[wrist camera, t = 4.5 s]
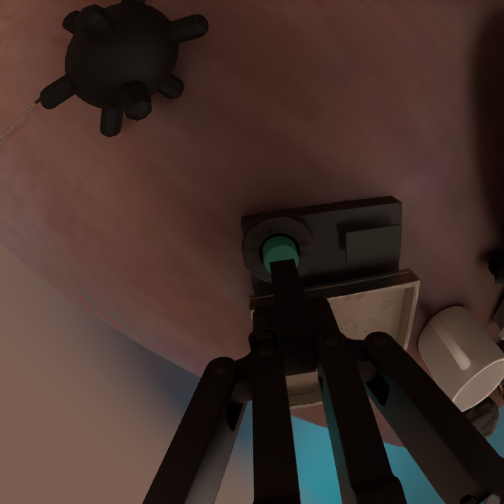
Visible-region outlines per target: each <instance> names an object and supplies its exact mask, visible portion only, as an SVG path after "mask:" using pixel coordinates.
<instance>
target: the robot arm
mask: <svg viewBox="0 0 504 504" xmlns="http://www.w3.org/2000/svg"><path fill="white" fill-rule="evenodd" d="M269 264H270V271H271V278H272V286H273V293H274V301H275V304H273V305H266V306H259V307H256V308H255V310H254V312H253V331H252V332H251V334H250V335H249V338H248V340H249V344H250V349H251V352H250V353H249V354H248V355H247V356H245V357H243V358H241V359H239V360H236V361H234V360H233V359H231V358H228V357H219V358H216V359H213V360H212V361H211V362H209V364H208V365H207V367H206V369H205V371H204V373H203V375H202V377H201V379H200V382H199V384H198V386H197V388H196V390H195V392H194V395H193V397H192V399H191V401H190V403H189V406H188V408H187V410H186V412H185V414H184V416H183V418H182V421H181V423H180V425H179V427H178V429H177V431H176V433H175V435H174V438H173V440H172V442H171V444H170V446H169V448H168V450H167V453H166V455H165V457H164V459H163V461H162V463H161V465H160V467H159V470H158V472H157V474H156V476H155V478H154V480H153V482H152V484H151V487H150V489H149V491H148V493H147V495H146V497H145V499H144V501H143V504H214V502H215V499H216V497H217V494H218V491H219V488H220V485H221V482H222V479H223V476H224V473H225V470H226V467H227V464H228V461H229V458H230V455H231V452H232V449H233V446H234V443H235V440H236V437H237V434H238V430H239V427H240V424H241V421H242V418H243V414H244V411H245V408H246V405H247V402H248V401H250V400H252V408H253V409H252V410H253V412H252V413H253V468H254V502H253V504H301V500H300V491H299V482H298V473H297V464H296V455H295V447H294V439H293V430H292V422H291V414H290V406H289V398H288V390H287V382H286V376H292V375H298V374H304V373H310V372H316V368H317V372H318V390H320V392H321V397H322V401H323V406H324V411H325V416H326V420H327V425H328V430H329V435H330V440H331V445H332V449H333V455H334V460H335V466H336V470H337V476H338V481H339V486H340V493H341V498H342V504H407V502H406V499H405V495H404V492H403V488H402V485H401V483H400V480H399V479H398V478H397V477H395V476H394V475H393V473H392V471H391V467H390V464H389V460H388V457H387V454H386V450H385V448H384V444H383V441H382V438H381V435H380V431H379V428H378V425H377V422H376V419H375V416H374V413H373V410H372V407H371V404H370V401H369V398H368V396H367V394H368V395H369V397H370V398H371V399H372V401H373V402H374V404H375V405H376V406H377V408H378V409H379V411H380V412H381V413H382V415H383V416H384V418H385V419H386V421H387V422H388V423H389V425H390V426H391V428H392V429H393V430H394V432H395V433H396V435H397V436H398V437H399V439H400V440H401V442H402V443H403V445H404V446H405V447H406V449H407V450H408V452H409V453H410V454H411V456H412V457H413V459H414V460H415V462H416V463H417V464H418V466H419V467H420V469H421V470H422V472H423V473H424V474H425V476H426V477H427V479H428V480H429V482H430V483H431V484H432V486H433V487H434V489H435V490H436V492H437V493H438V494H439V496H440V497H441V498H442V500H443V501H444V502H445V503H446V504H504V458H502V457H500V456H499V455H498V453H497V452H496V451H495V450H494V449H493V447H492V446H491V445H490V444H489V443H488V442H487V440H486V439H485V438H484V437H483V436H482V434H481V433H480V432H479V431H478V430H477V429H476V428H475V426H474V425H473V424H472V423H471V422H470V421H469V419H468V418H467V417H466V416H465V415H464V414H463V413H462V412H461V410H460V409H459V408H458V407H457V406H456V405H455V404H454V403H453V402H452V400H451V399H450V398H449V397H448V396H447V395H446V394H445V393H444V392H443V390H442V389H441V388H440V387H439V386H438V385H437V384H436V383H435V382H434V381H433V380H432V379H431V377H430V376H429V375H428V374H427V373H426V372H425V371H424V370H423V369H422V368H421V367H420V366H419V365H418V364H417V363H416V361H415V360H414V359H413V358H412V357H411V356H410V355H409V354H408V353H407V352H406V351H405V350H404V349H403V348H402V347H401V346H400V345H399V344H398V343H397V342H396V341H395V340H394V339H393V337H392V336H390V335H389V334H388V333H385V332H382V331H376V332H372V333H370V334H368V335H367V336H366V337H365V339H364V340H356V339H350V338H347V337H346V336H345V335H344V334H343V333H342V332H340V329H339V327H338V324H337V322H336V319H335V316H334V314H333V311H332V309H331V306H330V304H329V301H328V300H327V299H326V298H324V297H323V296H320V297H314V298H308V299H306V297H305V293H304V290H303V287H302V283H301V280H300V277H299V273H298V270H297V267H296V263H295V260H294V259H287V260H281V261H274V262H269ZM366 392H367V393H366Z"/></svg>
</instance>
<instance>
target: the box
mask: <svg viewBox="0 0 504 504" xmlns="http://www.w3.org/2000/svg"><path fill="white" fill-rule="evenodd" d="M499 389H500V396H501V397H502V399H503V401H504V379H503V380H502V381H501V382H500V384H499Z"/></svg>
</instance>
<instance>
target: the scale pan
mask: <svg viewBox="0 0 504 504" xmlns="http://www.w3.org/2000/svg"><path fill="white" fill-rule="evenodd" d="M400 246H401V224H393V225H386V226H379V227H372V228H365V229H359V230H352V231H345V252H346V262H351V261H357V260H363V259H369V258H375V257H380V256H386V255H392V254H397V253H400ZM419 286H420V279H419V278H418V277H417V276H416V275H415V274H414V273H413V272H412V270H411V269H405V270H399V271H394V272H389V273H384V274H379V275H374V276H368V277H363V278H357V279H352V280H346V281H340V282H334V283H329V284H323V285H316V286H310V287H304V288H303V290H304V293H305V297H306V299H308V298H314V297H320V296H323V297H324V298H326V299H327V300H328V301H329V304H330V306H331V309H332V311H333V314H334V316H335V319H336V322H337V324H338V327H339V329H340V332H342V333H343V334H344V335H345V336H346V337H347V338H350V339H356V340H364V339H365V337H366V336H367V335H368V334H370V333H372V332H376V331H382V332H385V333H388V334H389V335H390V336H392V337H393V339H394V340H395V341H396V342H397V343H398V344H399V345H400V346H401V347H402V348H403V349H404V350H405V351H406V352H407V348H408V344H409V339H410V335H411V330H412V326H413V321H414V315H415V310H416V305H417V299H418V293H419ZM273 304H275V301H274V293H273V292H271V293H265V294H258V295H251V296H250V315H251V320H252V324H253V312H254V310H255V308H256V307H259V306H266V305H273ZM286 382H287V390H288V398H289V406H290V410H291V409H298V408H304V407H310V406H316V405H322V404H323V401H322V397H321V392H320V390H318V372H317V368H316V372H310V373H304V374H298V375H292V376H286ZM366 393H367V392H366ZM367 395H368V394H367Z"/></svg>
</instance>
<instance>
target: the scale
mask: <svg viewBox="0 0 504 504" xmlns="http://www.w3.org/2000/svg"><path fill="white" fill-rule="evenodd" d="M401 215H402V202H400V201H399V200H397V199H396V198H394V197H392V196H389V197H380V198H372V199H363V200H355V201H347V202H339V203H332V204H324V205H317V206H309V207H302V208H295V209H288V210H279V211H272V212H266V213H262V214H255V215H249V216H242V221H241V226H242V232H243V240H242V253H243V258H244V264H245V266H246V268H247V269H248V270H249V271H250V274H251V279H252V284H253V289H254V295H258V294H265V293H271V292H273V286H272V278H271V273H269V272H268V271H267V270H266V268H265V266H264V258H263V247H264V245H265V243H266V242H267V241H268V240H269V239H270V238H272V237H274V236H286V237H288V238H290V239H291V240H292V241H293V243H294V244H295V247H296V250H297V253H298V256H299V263H298V266H297V270H298V273H299V277H300V280H301V283H302V287H303V288H304V287H310V286H316V285H323V284H329V283H334V282H340V281H346V280H352V279H357V278H363V277H368V276H374V275H379V274H384V273H389V272H394V271H398V270H399V258H400V253H397V254H392V255H386V256H380V257H375V258H369V259H363V260H357V261H351V262H346V252H345V231H352V230H359V229H365V228H372V227H379V226H386V225H393V224H401Z"/></svg>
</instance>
